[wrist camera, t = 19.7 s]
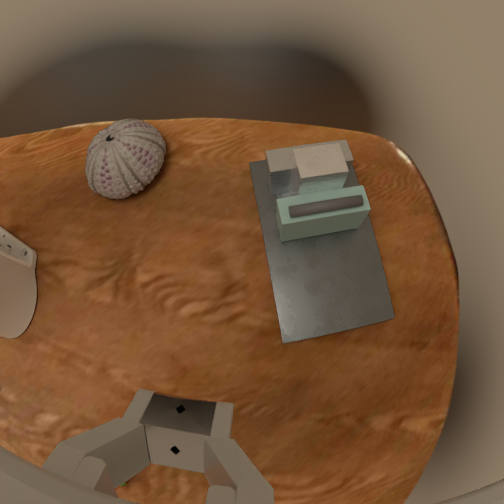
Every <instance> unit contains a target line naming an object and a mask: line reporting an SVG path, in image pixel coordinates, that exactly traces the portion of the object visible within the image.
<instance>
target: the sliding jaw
mask: <svg viewBox="0 0 504 504" xmlns="http://www.w3.org/2000/svg"><path fill="white" fill-rule="evenodd" d="M370 210H371V208H370V205H369V201H368V198H367V195H366V192H365V189H364V186H363V185H361V186H354V187H347V188H341V189H334V190H328V191H321V192H315V193H309V194H303V195H297V196H291V197H285V198H279V199H276V219H277V224H278V229H279V234H280V239H281V242H284V241H289V240H295V239H300V238H306V237H311V236H317V235H322V234H328V233H333V232H339V231H344V230H350V229H356V228H359V226H360V225H361V223H362V222H363V220H364V219H365V218H366V216H367V215H368V213H369V212H370Z"/></svg>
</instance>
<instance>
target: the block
mask: <svg viewBox="0 0 504 504" xmlns="http://www.w3.org/2000/svg"><path fill="white" fill-rule="evenodd" d="M348 172H349V170H348V167H347V164H346V161H345V159H344V156H343V153H342V150H341V147H340V145H339V143H336V144H328V145H320V146H313V147H305V148H298V149H293V154H292V168H291V181H290V196H297V195H303V194H309V193H315V192H321V191H328V190H334V189H341V188H343V185H344V183H345V180H346V177H347V175H348Z"/></svg>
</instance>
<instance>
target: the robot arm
mask: <svg viewBox="0 0 504 504" xmlns="http://www.w3.org/2000/svg"><path fill="white" fill-rule="evenodd" d="M26 254H27V255H26ZM36 259H37V254H36V251H35V250H33V249H32V248H30V247H29V246H28V245H26V244H25V243H23V242H22V241H20V240H19V239H18V238H16V237H15V236H13V235H12V234H11V233H9V232H8V231H7V230H5V229H4V228H2V227H1V226H0V337H4V338H9V339H11V338H16V337H18V336H19V335H21V334H22V333H23V332H24V331H25V330H26V328H27V327H28V325H29V323H30V321H31V319H32V316H33V313H34V310H35V305H36V297H37V286H36V278H35V266H36ZM233 407H234V404H233V403H227V402H214V401H206V400H199V399H192V398H186V397H181V396H176V395H171V394H166V393H161V392H155V391H151V390H146V389H142V388H141V389H139V390H138V391H137V393H136V395H135V396H134V398H133V400H132V402H131V403H130V405H129V407H128V409H127V410H126V412H125V414H124V416H123V418H122V419H121V418H116V419H113V420H111V421H109V422H107V423H104V424H102V425H100V426H98V427H95V428H93V429H91V430H88V431H86V432H84V433H81V434H79V435H76V436H74V437H72V438H69V439H67V440H64V441H62V442H59V443H58V445H57V446H56V447H55V449H54V450H53V452H52V453H51V454H50V456H49V457H48V459H47V460H46V462H45V463H44V464H43V466H42V467H39V466H37V465H35V464H33V463H31V462H29V461H27V460H25V459H23V458H21V457H20V456H18V455H16V454H14V453H12V452H11V451H9V450H7V449H5V448H4V447H2V446H0V504H138V503H134V502H130V501H127V500H124V499H120V498H118V496H117V493H116V491H115V489H116V488H118V487H119V486H120V485H122V484H123V483H125V482H126V481H128V480H129V479H130V478H132V477H133V476H135V475H136V474H137V473H139V472H140V471H142V470H143V469H144V468H146V467H147V466H148V465H150V463H154V464H159V465H164V466H169V467H175V468H180V469H185V470H190V471H195V472H201V473H204V475H205V477H206V479H207V481H208V483H209V485H210V487H209V489H208V494H207V499H206V504H274V489H273V487H272V486H271V485H270V484H269V483H268V482H267V480H266V479H265V478H264V477H263V475H262V474H261V473H260V472H259V471H258V469H257V468H256V467H255V466H254V464H253V463H252V462H251V461H250V459H249V458H248V457H247V456H246V454H245V453H244V452H243V450H242V449H241V448H240V446H239V445H238V444H237V442H236V441H235V440H234V439H231V429H232V418H233ZM434 504H504V479H502V480H499V481H497V482H495V483H492V484H490V485H487V486H485V487H482V488H480V489H477V490H475V491H472V492H469V493H466V494H464V495H461V496H457V497H454V498H451V499H448V500H445V501H442V502H438V503H434Z"/></svg>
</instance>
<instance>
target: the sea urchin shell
mask: <svg viewBox="0 0 504 504" xmlns="http://www.w3.org/2000/svg"><path fill="white" fill-rule="evenodd" d="M165 147H166V144H165V141H164V140H163V137H162V136H161V134H160V132H159V131H157V129H156V128H155V127H153V126H152V125H151V124H148V123H147V122H144V121H140V120H136V119H125V120H121V121H117V122H114V123H113V124H112V125H110V126H109V127H107V128H105V129H104V130H102V131H99V133H98V134H97V135H96V136H95V137H94V138H93V139H92V141H91V143H90V145H89V147H87V148H88V150H87V157H86V167H85V168H86V171H85V173H86V174H87V175H86V177H87V178H88V185H89V186H90V188H91V189H92V190H94V193H98V194H101V195H102V196H103V197H104V196H105V197H108V198H109V199H111V198H112V199H114V198H115V199H119V198H123V199H124V198H125V197H128V196H130V195H131V194H133V193H135V194H137V193H138V191H140V190H143V189H144V186H146V185H147V184H150V182H151V181H152V180H154V177H155V175H157V174H158V172H159V170H160V168H161V166H162V164H163V162H164V155H165V154H166V150H167V149H166V148H165Z"/></svg>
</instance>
